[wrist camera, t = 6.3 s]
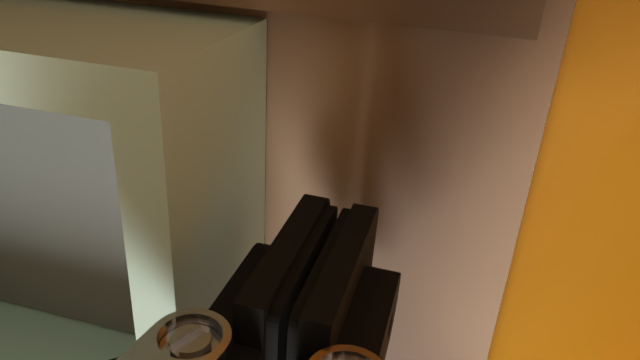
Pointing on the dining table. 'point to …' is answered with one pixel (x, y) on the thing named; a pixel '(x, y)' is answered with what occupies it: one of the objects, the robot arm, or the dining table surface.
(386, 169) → the rail board
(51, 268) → the socket block
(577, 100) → the dining table surface
